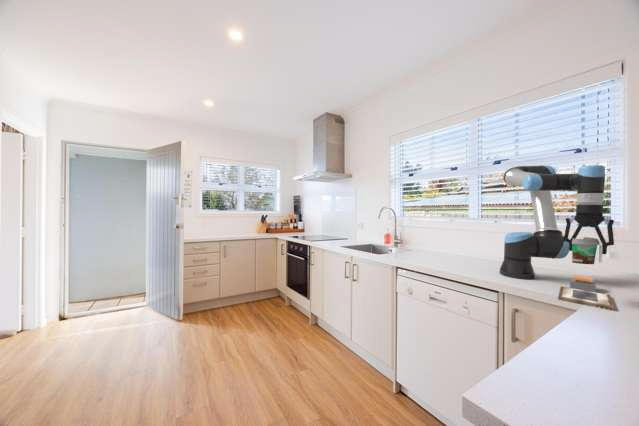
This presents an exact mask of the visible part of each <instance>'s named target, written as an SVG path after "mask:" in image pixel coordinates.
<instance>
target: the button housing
mask: <svg viewBox="0 0 639 426" xmlns="http://www.w3.org/2000/svg"><path fill="white" fill-rule="evenodd" d="M569 284H570V285H569V288H574V289H580V290H585V291H591V292H596V291H597V289H596V288H597V284H596V282H595V281H593V282H589V284H587V283H581V282H577V280H574V279H573V277H570V283H569Z"/></svg>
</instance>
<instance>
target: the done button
mask: <svg viewBox="0 0 639 426" xmlns="http://www.w3.org/2000/svg"><path fill="white" fill-rule="evenodd" d="M572 276H573V277H572V278H573V279H574V280H577V282H581V283H587V284H589V282H594V277H592V276H586V275H585V276H584V275H579V274H573V275H572Z"/></svg>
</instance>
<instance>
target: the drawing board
mask: <svg viewBox="0 0 639 426" xmlns="http://www.w3.org/2000/svg"><path fill="white" fill-rule="evenodd" d="M557 299H558V300H560V301H564V302H567V303H568V302H569V303H574V304H578V305H583V306H584V305H585V306H587V307H588V306H589V307H593V306H595V307H594V308H598V307H600V308H599V309H603V308H605V309H604V310H608V309H609V310H608V311H612V310H614V311H615V306H614V302H613V300H612V297H611V294H607V293H601V292H591V291H585V290H580V289H574V288H570V287H567V286H562V285H561V286H560V289H559V293H558V298H557Z"/></svg>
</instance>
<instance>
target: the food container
mask: <svg viewBox="0 0 639 426" xmlns="http://www.w3.org/2000/svg"><path fill="white" fill-rule="evenodd" d="M599 245H601V244H600V240H599V238H595V237H587V236H584V237H583V238H576V239H573V240H572V251H571V253H572V256H571V263H572V264H580V265H581V264H582V265H595V261H596V255H597V249H598V246H599Z"/></svg>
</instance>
